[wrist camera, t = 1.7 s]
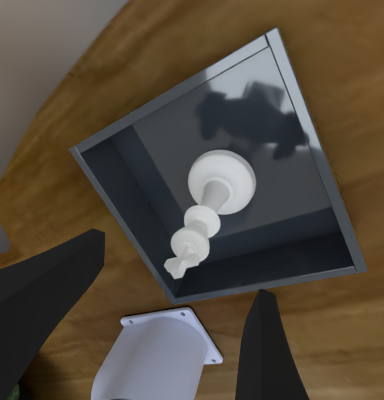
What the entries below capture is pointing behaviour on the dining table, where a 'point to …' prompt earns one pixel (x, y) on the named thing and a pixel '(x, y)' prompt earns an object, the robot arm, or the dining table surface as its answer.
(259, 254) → the square open tray
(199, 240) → the chess piece
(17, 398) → the stone basin
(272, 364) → the robot arm
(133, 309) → the dining table surface
